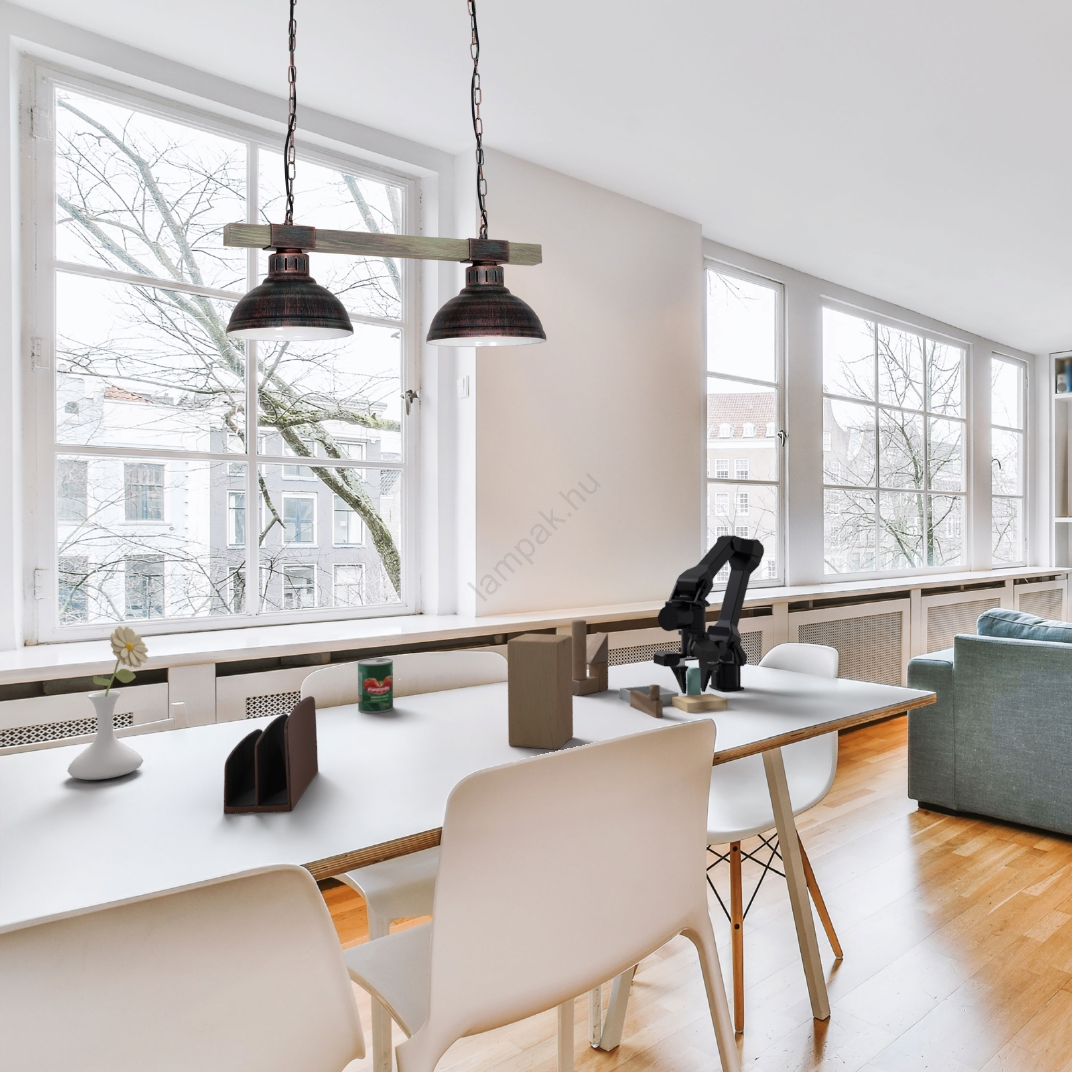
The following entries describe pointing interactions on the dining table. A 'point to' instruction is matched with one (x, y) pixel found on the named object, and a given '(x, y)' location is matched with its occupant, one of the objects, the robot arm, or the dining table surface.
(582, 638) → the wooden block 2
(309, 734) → the letter holder
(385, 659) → the canned tomato
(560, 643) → the wooden block
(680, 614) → the robot arm
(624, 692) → the tray
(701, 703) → the board
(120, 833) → the dining table surface
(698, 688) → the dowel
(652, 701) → the rail
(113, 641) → the flower in vase
